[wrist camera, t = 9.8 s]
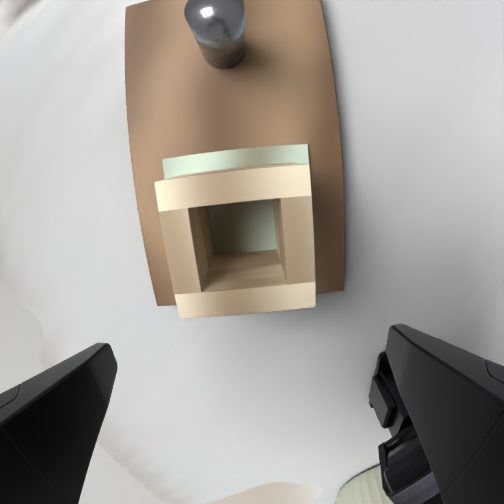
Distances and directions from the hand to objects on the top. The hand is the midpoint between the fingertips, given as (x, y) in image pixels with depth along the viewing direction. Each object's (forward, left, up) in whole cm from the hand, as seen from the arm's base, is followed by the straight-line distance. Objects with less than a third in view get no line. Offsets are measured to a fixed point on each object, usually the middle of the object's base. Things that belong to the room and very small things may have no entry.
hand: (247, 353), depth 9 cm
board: (0, -7, -11) cm, 13 cm away
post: (0, -12, -9) cm, 15 cm away
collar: (0, -2, -9) cm, 9 cm away
